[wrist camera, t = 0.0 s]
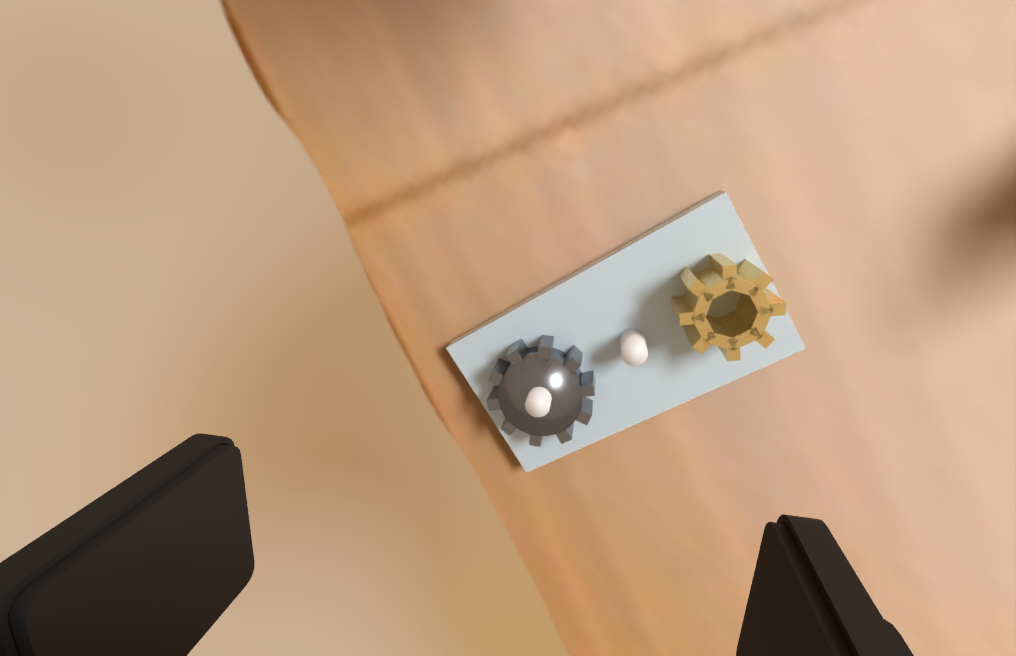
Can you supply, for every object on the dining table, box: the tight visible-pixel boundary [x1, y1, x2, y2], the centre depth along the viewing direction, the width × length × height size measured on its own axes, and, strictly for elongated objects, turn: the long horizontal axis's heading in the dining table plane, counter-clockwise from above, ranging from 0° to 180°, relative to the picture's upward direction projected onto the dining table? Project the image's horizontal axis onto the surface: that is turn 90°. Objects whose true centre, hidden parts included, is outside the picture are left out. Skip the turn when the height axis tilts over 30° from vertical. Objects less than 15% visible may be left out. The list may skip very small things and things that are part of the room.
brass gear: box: [671, 253, 786, 362], centre depth 39 cm, size 7×7×5 cm
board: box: [446, 191, 806, 473], centre depth 43 cm, size 14×26×6 cm, turn 122°
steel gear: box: [486, 335, 596, 447], centre depth 45 cm, size 9×9×3 cm
